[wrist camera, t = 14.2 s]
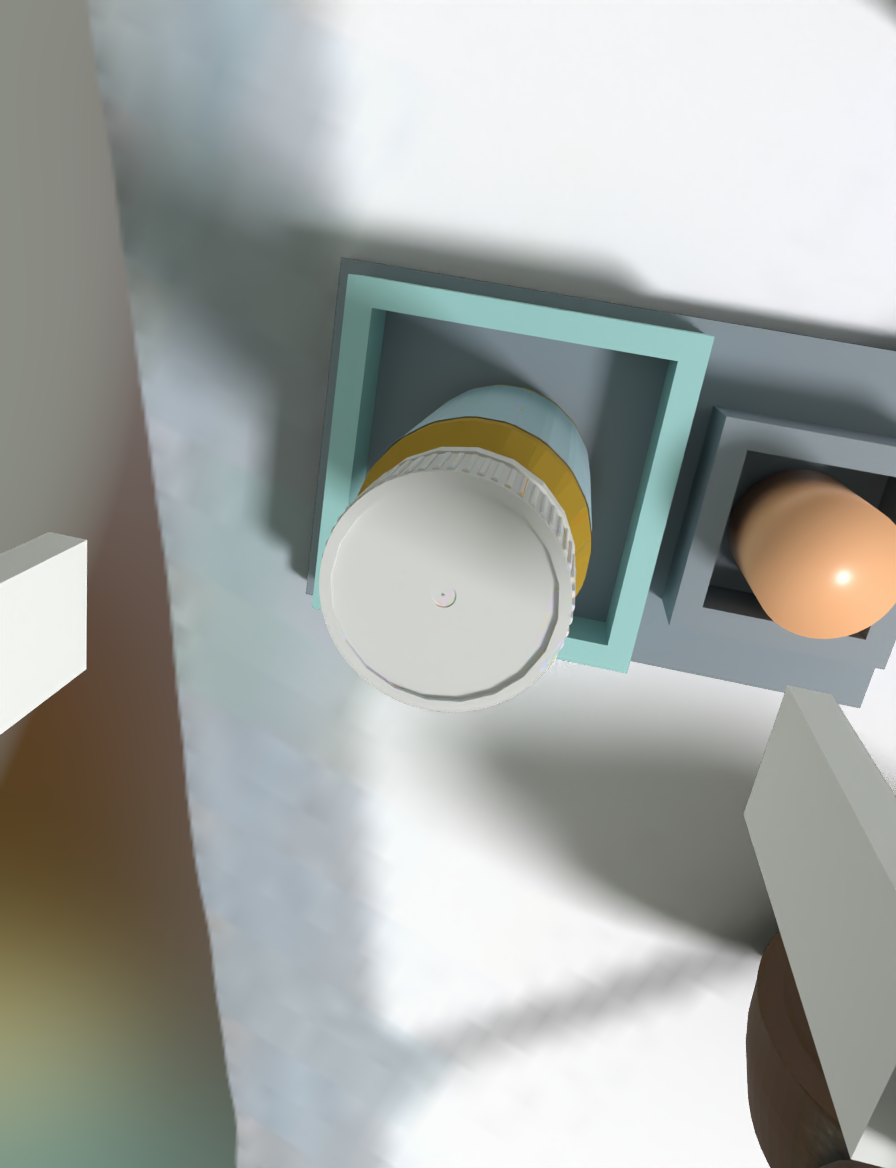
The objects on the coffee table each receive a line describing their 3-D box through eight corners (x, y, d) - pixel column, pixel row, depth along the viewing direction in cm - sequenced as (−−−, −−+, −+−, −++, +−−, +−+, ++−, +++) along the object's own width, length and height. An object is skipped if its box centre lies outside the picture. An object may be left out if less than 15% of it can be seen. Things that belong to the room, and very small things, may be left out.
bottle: (464, 579, 35) (386, 766, 21) (387, 431, 34) (247, 528, 20) (617, 511, 33) (642, 667, 19) (542, 350, 32) (510, 395, 18)
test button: (747, 458, 31) (777, 487, 27) (878, 482, 31) (931, 515, 26) (713, 576, 33) (736, 623, 28) (836, 600, 33) (880, 651, 28)
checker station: (349, 258, 33) (318, 253, 29) (973, 364, 31) (1030, 374, 27) (313, 585, 38) (283, 618, 34) (851, 695, 36) (884, 744, 32)
